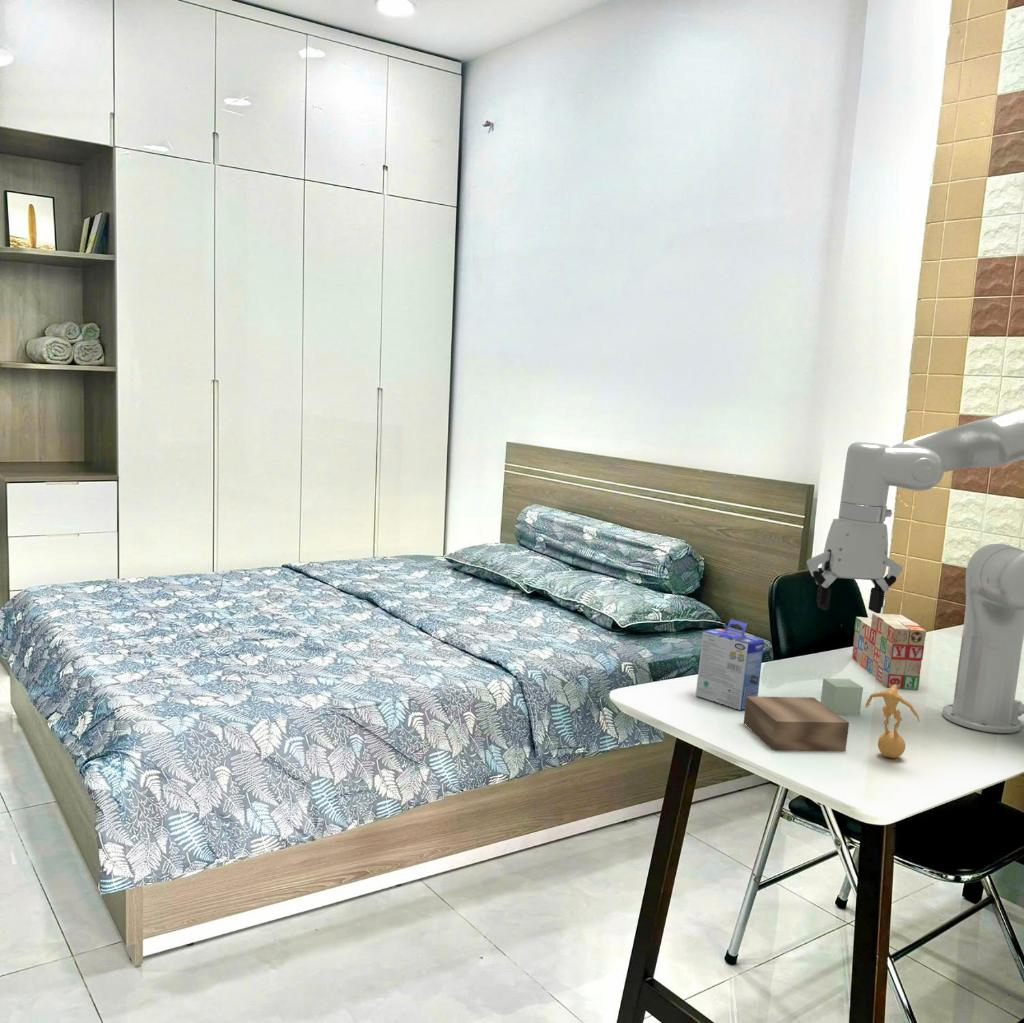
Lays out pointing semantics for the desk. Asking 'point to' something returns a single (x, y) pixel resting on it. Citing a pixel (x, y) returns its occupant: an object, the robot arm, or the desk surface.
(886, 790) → the desk surface
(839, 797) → the desk surface
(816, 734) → the walnut block
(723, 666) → the ink cartridge box
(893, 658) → the stack of blocks
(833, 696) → the sage cube
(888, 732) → the figurine
